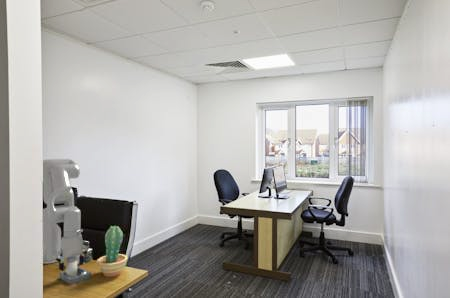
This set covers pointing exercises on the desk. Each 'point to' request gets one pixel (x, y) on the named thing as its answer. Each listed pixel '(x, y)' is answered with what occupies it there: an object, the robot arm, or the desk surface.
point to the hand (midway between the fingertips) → (71, 267)
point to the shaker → (71, 267)
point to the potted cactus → (112, 253)
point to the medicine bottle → (88, 255)
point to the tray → (76, 279)
